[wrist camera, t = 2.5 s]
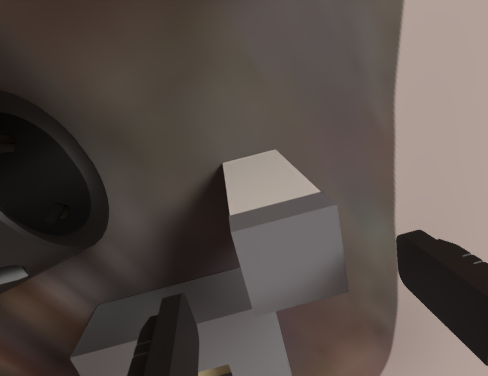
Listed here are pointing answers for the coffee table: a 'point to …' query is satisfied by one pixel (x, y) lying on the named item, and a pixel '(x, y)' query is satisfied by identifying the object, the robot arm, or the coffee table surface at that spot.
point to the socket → (208, 323)
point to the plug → (283, 233)
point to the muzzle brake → (44, 193)
